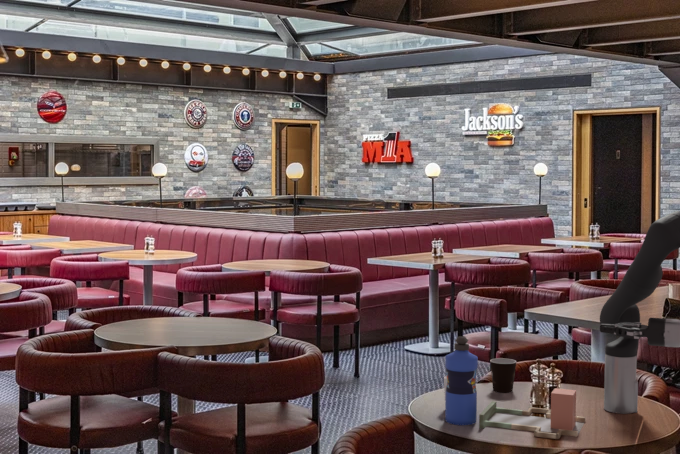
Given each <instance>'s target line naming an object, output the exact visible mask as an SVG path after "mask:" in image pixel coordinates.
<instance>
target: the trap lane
mask: <svg viewBox="0 0 680 454" xmlns="http://www.w3.org/2000/svg"><path fill="white" fill-rule="evenodd" d="M532 413H536V414H545V417H543V416H534V415H531V414H532ZM478 416H479V417H478V418H479V419H478V421H479V423H478V428H479V429H481V428H482V429H485V428H486V427H493V428H501V429H502V428H503V429H510V430H518V431H526V432H533V433H534V434H533V436H534V437H538V438H546V439H552V440H554V439H555V440H560V439H561V437H562V436H568V437H576V438H577V437H578V436H579V434H580V432H581V430H582V428H583V426H584V425H585V422H586V416H578V415H576V424H575V427H574V428H573V430H563V429H554V428H551V408H544V407H543V408H540V407H532V406H529V407H528V409H527V410H525V409H515V408H506V407H498V406H497V401H496V400H492V401H491V402H490V403H489V404H488V405H487V406H486V407H485V408H484V409H483V410H482V411H481V412H480V413H479V415H478Z"/></svg>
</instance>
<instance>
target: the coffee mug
mask: <svg viewBox="0 0 680 454" xmlns="http://www.w3.org/2000/svg"><path fill="white" fill-rule="evenodd" d="M489 363H490V373H491V383H492V391H493V392H495V393H497V394H498V393H500V394H509V393H513V391H514V382H515V374H516V369H517V360H515V359H512V358H507V357H506V358H503V357H498V358H492V359H490V360H489Z"/></svg>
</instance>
